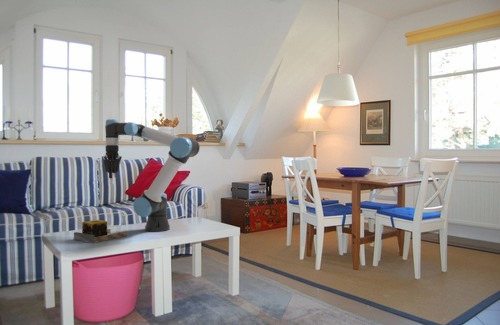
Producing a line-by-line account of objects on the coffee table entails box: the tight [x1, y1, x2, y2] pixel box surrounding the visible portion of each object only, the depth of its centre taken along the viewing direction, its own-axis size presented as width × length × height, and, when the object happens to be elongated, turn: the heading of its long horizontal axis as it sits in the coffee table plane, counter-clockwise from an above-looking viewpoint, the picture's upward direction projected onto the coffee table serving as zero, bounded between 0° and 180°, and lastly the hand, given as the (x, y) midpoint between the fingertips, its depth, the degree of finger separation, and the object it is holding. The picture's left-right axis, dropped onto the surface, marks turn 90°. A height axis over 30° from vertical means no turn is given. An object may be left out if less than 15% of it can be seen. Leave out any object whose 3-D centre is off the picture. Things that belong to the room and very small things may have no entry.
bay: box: [73, 228, 128, 244], centre depth 224 cm, size 23×16×4 cm
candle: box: [81, 219, 109, 237], centre depth 220 cm, size 10×10×10 cm
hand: (112, 183), depth 242 cm, fingers closed
